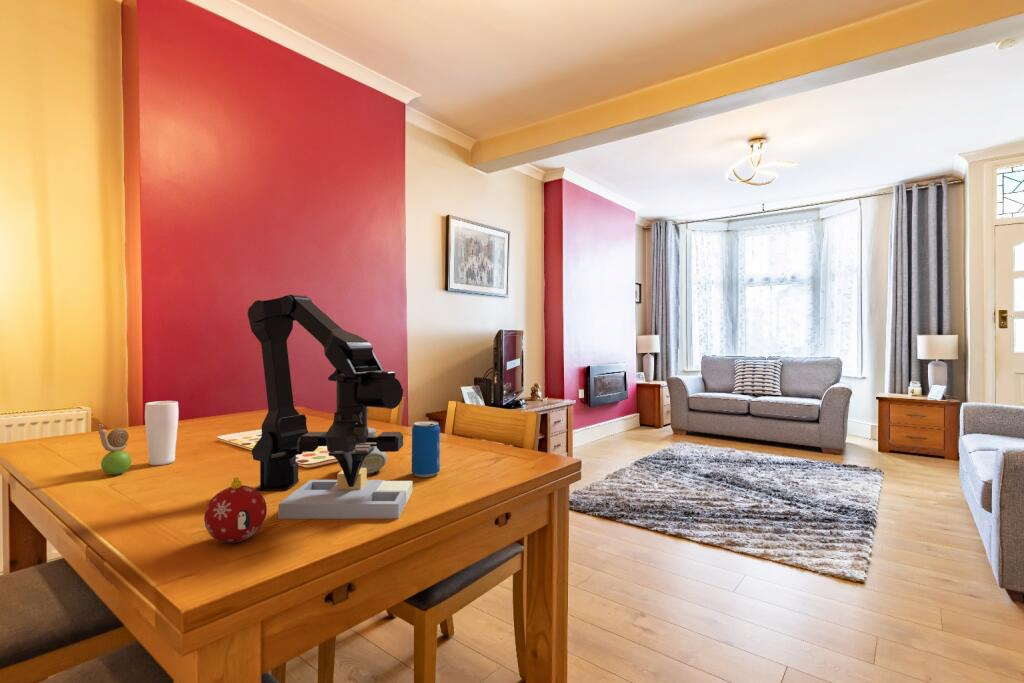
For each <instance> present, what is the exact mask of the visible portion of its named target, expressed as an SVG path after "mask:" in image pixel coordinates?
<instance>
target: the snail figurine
mask: <svg viewBox="0 0 1024 683" xmlns="http://www.w3.org/2000/svg"><path fill="white" fill-rule="evenodd" d="M97 426H98V428H99V431H98V435H99V437H100V442H101V445H102V447H103V449H104V450H105V451H108V453H106V454H105V455H104V456H103V458H102V459H101V463H100V466H101V469H102V470H103V472H104V473H106V474H108V475H111V476H112V475H113V476H114V475H120V474H123V473H125V472H127V470H129V469H130V467H131V465H132V460H133V459H132V457H131V455H130V453H128V452H127V451H125V450H124V449H126V447H127V446H128V445H129V444H128V443H127V442H128V440H129V433H128V431H127V430H126V429H124V428H122V427H121V428H120V427H119V428H114V429H113V430H111V431H110V432H109V433H108V434H107V432H108V431H107V430H106V428H105V429H104V428H103V427H104V424H100V423H99V424H98V425H97Z"/></svg>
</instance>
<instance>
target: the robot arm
mask: <svg viewBox="0 0 1024 683" xmlns="http://www.w3.org/2000/svg"><path fill="white" fill-rule="evenodd" d="M247 318H248V323H249V326H250V330H251V333H253V334H252V335H254V337H255V338H256V339H257V340H258V341H259V343H260V345H261V357H262V365H263V371H264V372H263V373H264V380H265V381H264V382H265V390H266V392H265V393H266V399H267V401H266V402H267V408H268V409H267V414H266V415H265V417H264V420H263V422H262V424H261V436H260V438H259V440H258V441H257V442H256V443H255V445H254V446H253V447H252V448H251V454H252V455H251V456H252V458H253V461H258V462H259V464H260V465H259V485H258V486H257V487H256V488H255V489H256V490H257V491H287V490H290V489H291V488H292V487H293V486H295V485H296V484H297V483H298V482H299V481H300V479H299V462H298V461H297V455H303V453H313V452H315V451H316V450H317V449H318V448H319V447H326V450H327V452H328V454H327V455H328V456H329V457H334V458H335V459H336V460H337V462H338V464H339V463H340V465H341V467H342V468H341V467H340V468H341V470H343V472H344V475H345V478H346V480H347V483H348V486H349V487H353V486H354V485H355V482H356V480H357V477H358V474H359V471H360V469H361V466H362V464H363V461H364V459H365V457H366V456H367V455H369V454H370V453H371V452H372V451H373V450H374V447H373V446H377V449H378V450H379V451H380V452H385V453H392V452H393V453H394V452H399V451H400V450H401V449H402V447H403V446H404V435H403V433H402V432H401V431H382V432H381V433H380V434H379V435H378V436H377V435H376V436H368V428H369V427H368V415H369V408H376V409H378V408H379V409H389V410H393V409H396V408H397V407H398V406H399V405H400V403H401V402H402V399H403V396H404V394H403V393H404V388H402V384H401V382H400V380H399V379H397V378H396V372H395V371H390V370H389V371H385V370H384V368H383V366H382V364H381V363H380V361H379V359H378V358H377V356H376V354H375V352H374V351H373V350H374V349H373V346H372V343H370V341H368V340H366V339H365V338H363V337H361V336H359V335H358V334H355V333H352V332H350V331H347V330H345V329H343V328H342V327H340V325H338V324H337V323H336V322H335V321H334V320H332V318H330V317H329V316H328V315H327V314H326V313H325V312H323V311H322V309H320V308H319V307H318V306H317V305H316V304H314V302H313V301H312V299H311V298H310V297H308V296H306V295H300V294H287V295H284V296H282V297H281V296H280V297H277V298H273V299H272V298H271V299H266V300H263V299H262V300H259V299H258V300H255V301H254V302H252V304H251V305H250V306H249V308H248V309H247ZM295 321H296V322H297V323H298V324H299V325H300V326H301V327H303V328H304V329H305V330H306V332H308V333H309V334H310V335H311V336H312V337H313V338H314V339H315V340H316V341H318V343H320V345H321V346H322V347H323V350H324V356H325V357H326V359H327V360H328V362H330V364H331V366H332V367H333V368H334V369H335V370H334V372H333V373H332V374H330V375H329V376H328V377H327V379H328V381H329V382H330V381H331V382H335V385H336V387H335V389H336V390H335V391H336V392H335V393H336V394H335V397H336V398H335V399H336V400H335V403H336V404H335V408H336V409H335V412H334V414H333V421H332V424H331V425H330V427H328V429H327V431H309V430H308V426H307V416H306V415H305V414H304V413H302V414H301V413H299V412H298V410H297V409H296V408H295V404H294V402H295V401H294V395H293V385H292V384H293V383H292V375H291V368H290V367H291V366H290V358H289V349H288V339H289V337H290V335H291V333H292V331H293V329H294V322H295ZM355 448H356V450H355V451H354V452H352V451H353V450H354V449H355ZM340 465H339V466H340Z"/></svg>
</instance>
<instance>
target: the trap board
mask: <svg viewBox="0 0 1024 683" xmlns="http://www.w3.org/2000/svg"><path fill="white" fill-rule="evenodd" d="M413 486H414V485H413V480H384V479H367V483H366V484H365V485H364V486H363V487H362V488H361V489H337V479H309V480H308V481H307V482H306V483H304V484H303V485H302V486H300V487H299V488H298V489H297V490H294V491H293V492H292V493H290V494H289V495H288V496H287V497H285V498H284V499H282V500H281V501H280V502H279V503H278V519H279V520H280V519H281V520H282V519H283V520H284V519H285V520H286V519H293V520H294V519H302V520H303V519H306V520H307V519H308V520H309V519H322V520H323V519H327V520H329V519H331V520H332V519H349V520H350V519H360V520H361V519H365V520H366V519H375V520H376V519H388V520H389V519H400V517H401V514H402V512H403V510H405V506H406V505H407V503H408V501H409V499H410V497H411V495H412V493H413Z"/></svg>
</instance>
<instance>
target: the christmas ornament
mask: <svg viewBox="0 0 1024 683" xmlns="http://www.w3.org/2000/svg"><path fill="white" fill-rule="evenodd" d="M267 510H268V509H267V502H266V500H265V497H264V496H263V495H262V493H261V492H259V490H256V488H254V487H252V486H248V485H242V481H241V480H240V478H239V477H237V476H236V477H234V478H233V481H231V486H229V487H226V488H224V489H222V490H220V491H219V492H217V493H216V494H215V495H214V496H213V497H212V498H211V499H210V500H209V502H208V504H207V506H206V508H205V511H204V516H203V519H204V522H203V523H204V526H205V528H206V530H207V533H208V534H209V535H210V537H212V538H214V539H215V540H217V541H219V542H221V543H226V544H235V543H241V542H244V541H246V540H248V539H250V538H251V537H253V536H254V535H255V534H256V533H257V532H259V530H260V529H261V528H262V526H263V525H264V522H265V520H266V517H267V513H268V512H267Z"/></svg>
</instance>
